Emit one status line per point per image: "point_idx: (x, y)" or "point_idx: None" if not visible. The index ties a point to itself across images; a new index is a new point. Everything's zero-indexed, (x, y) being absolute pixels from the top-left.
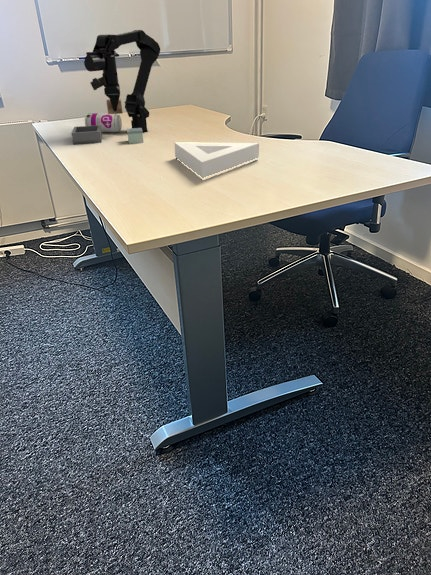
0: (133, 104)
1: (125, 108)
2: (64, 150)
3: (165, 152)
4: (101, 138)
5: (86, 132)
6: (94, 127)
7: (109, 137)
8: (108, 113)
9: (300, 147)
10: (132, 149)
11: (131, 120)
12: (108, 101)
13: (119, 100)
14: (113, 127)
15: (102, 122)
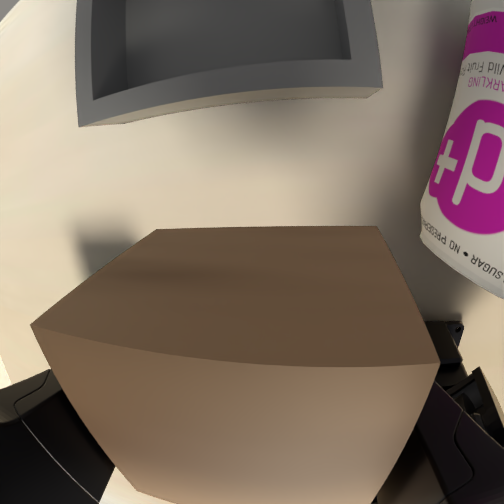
0: (375, 502)
1: (472, 414)
2: (34, 7)
3: (26, 356)
4: (189, 108)
5: (76, 39)
6: (347, 30)
7: (282, 156)
8: (152, 236)
9: (115, 498)
10: (27, 282)
11: (456, 362)
12: (48, 362)
13: (171, 496)
14: (421, 205)
15: (469, 113)
